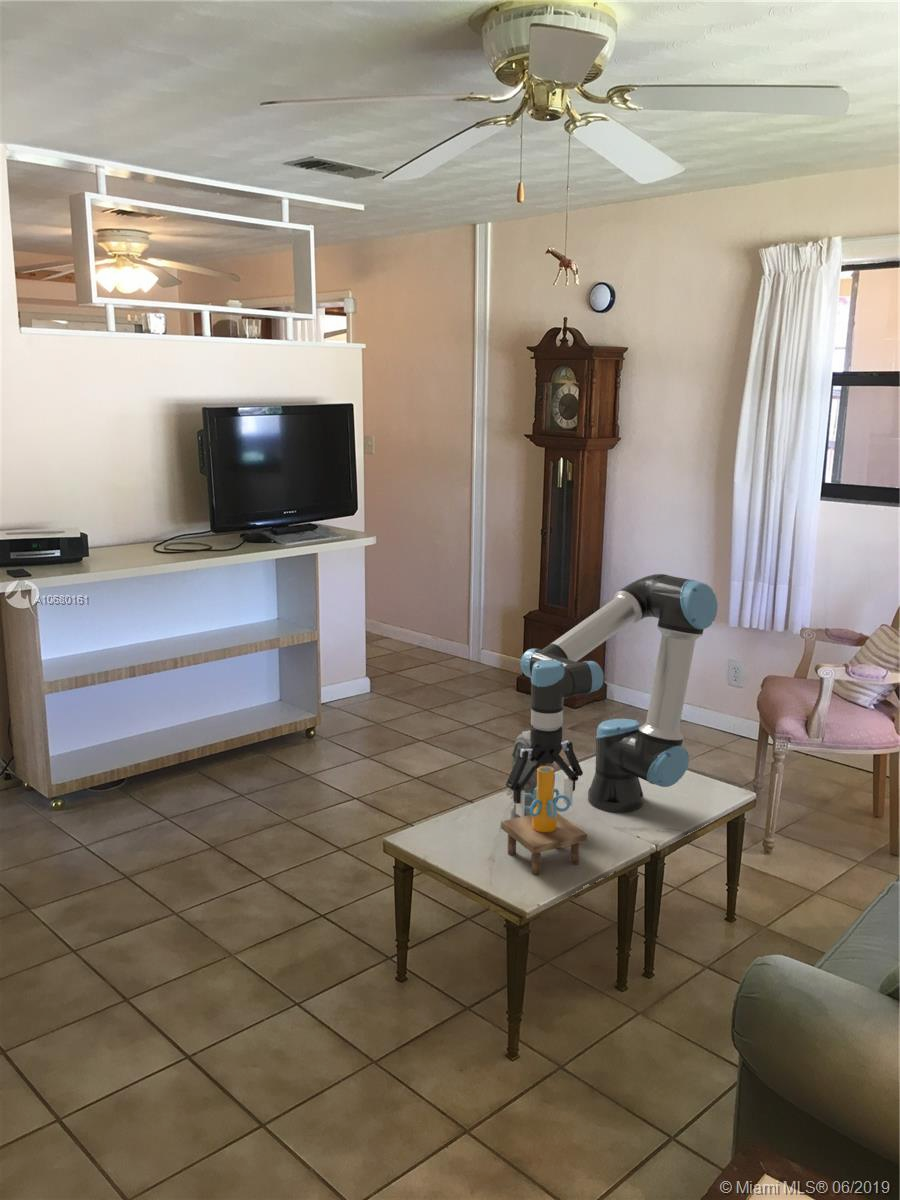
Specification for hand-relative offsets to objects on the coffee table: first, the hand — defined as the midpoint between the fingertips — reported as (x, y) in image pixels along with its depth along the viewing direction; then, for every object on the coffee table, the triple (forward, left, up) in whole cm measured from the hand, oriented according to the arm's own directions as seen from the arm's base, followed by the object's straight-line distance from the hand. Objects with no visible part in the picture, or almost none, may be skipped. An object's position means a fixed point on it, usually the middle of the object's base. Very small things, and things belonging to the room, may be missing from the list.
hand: (544, 809), depth 231 cm
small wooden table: (0, 0, -13) cm, 13 cm away
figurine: (-9, -20, -13) cm, 25 cm away
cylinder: (0, 0, -5) cm, 5 cm away
